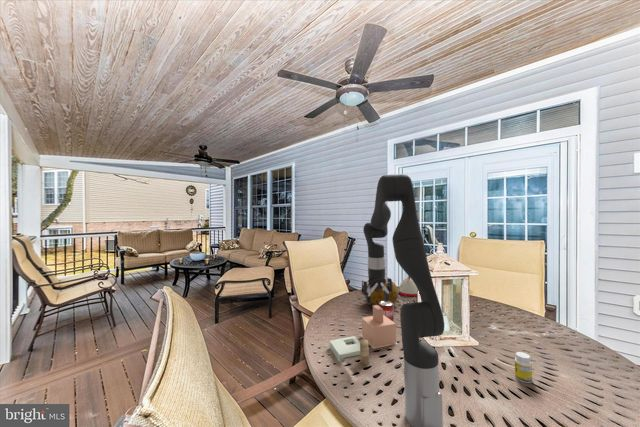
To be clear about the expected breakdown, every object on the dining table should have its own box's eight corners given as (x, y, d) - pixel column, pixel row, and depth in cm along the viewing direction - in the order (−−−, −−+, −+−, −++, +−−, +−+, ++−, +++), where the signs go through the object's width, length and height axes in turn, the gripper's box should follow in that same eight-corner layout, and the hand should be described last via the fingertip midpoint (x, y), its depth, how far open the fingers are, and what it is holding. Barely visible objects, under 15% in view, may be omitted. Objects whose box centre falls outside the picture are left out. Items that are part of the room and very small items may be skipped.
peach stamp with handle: (396, 343, 114) (395, 309, 113) (373, 347, 110) (372, 313, 110) (383, 332, 124) (382, 301, 124) (362, 336, 121) (361, 304, 121)
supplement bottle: (515, 372, 93) (514, 349, 93) (532, 378, 90) (531, 353, 90) (514, 379, 89) (514, 355, 89) (532, 385, 86) (531, 360, 86)
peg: (370, 368, 99) (369, 342, 99) (363, 370, 98) (362, 343, 98) (366, 363, 102) (365, 338, 102) (359, 365, 101) (358, 339, 101)
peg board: (367, 356, 107) (366, 349, 107) (339, 362, 103) (339, 354, 103) (354, 342, 118) (354, 336, 118) (329, 347, 115) (329, 340, 115)
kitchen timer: (399, 295, 180) (398, 274, 179) (399, 289, 193) (399, 269, 193) (420, 297, 175) (420, 275, 175) (419, 290, 188) (419, 270, 188)
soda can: (394, 330, 129) (393, 306, 129) (379, 329, 130) (378, 305, 130) (393, 323, 136) (392, 301, 136) (379, 323, 137) (378, 300, 137)
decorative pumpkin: (403, 300, 167) (400, 270, 165) (393, 315, 149) (390, 281, 148) (373, 297, 177) (370, 268, 176) (361, 310, 160) (357, 278, 159)
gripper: (366, 270, 111) (367, 307, 111) (395, 267, 115) (396, 303, 116) (358, 266, 118) (359, 302, 119) (385, 263, 122) (386, 297, 123)
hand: (377, 302), depth 117 cm, fingers open, 8 cm apart
